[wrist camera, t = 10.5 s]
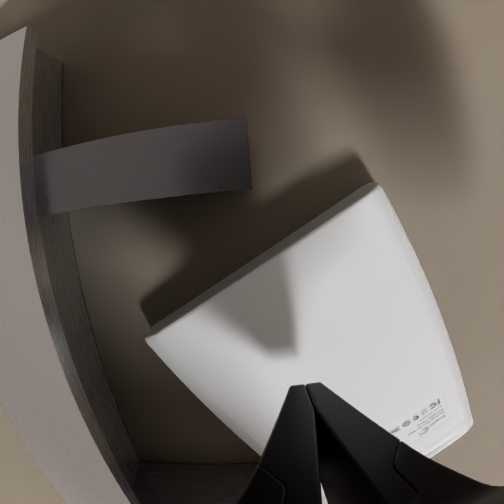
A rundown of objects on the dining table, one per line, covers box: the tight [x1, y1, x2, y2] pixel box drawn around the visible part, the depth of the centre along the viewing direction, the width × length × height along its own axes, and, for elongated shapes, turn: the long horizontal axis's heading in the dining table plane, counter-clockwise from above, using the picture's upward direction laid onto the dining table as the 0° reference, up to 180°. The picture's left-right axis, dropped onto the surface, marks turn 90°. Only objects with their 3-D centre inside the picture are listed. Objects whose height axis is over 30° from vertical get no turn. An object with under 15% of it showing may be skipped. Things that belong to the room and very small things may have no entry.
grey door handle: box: [0, 26, 258, 504], centre depth 9 cm, size 21×9×3 cm, turn 4°
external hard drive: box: [145, 183, 473, 504], centre depth 10 cm, size 2×8×12 cm
